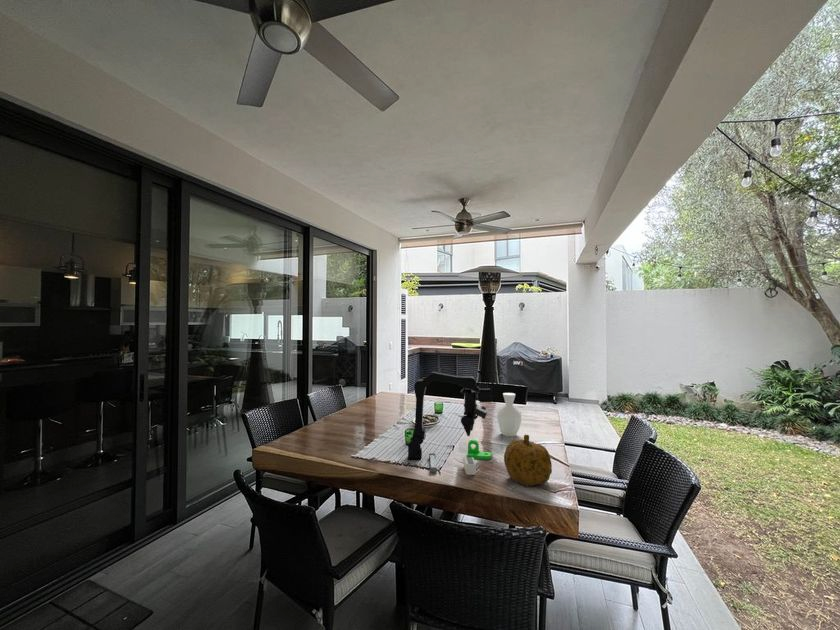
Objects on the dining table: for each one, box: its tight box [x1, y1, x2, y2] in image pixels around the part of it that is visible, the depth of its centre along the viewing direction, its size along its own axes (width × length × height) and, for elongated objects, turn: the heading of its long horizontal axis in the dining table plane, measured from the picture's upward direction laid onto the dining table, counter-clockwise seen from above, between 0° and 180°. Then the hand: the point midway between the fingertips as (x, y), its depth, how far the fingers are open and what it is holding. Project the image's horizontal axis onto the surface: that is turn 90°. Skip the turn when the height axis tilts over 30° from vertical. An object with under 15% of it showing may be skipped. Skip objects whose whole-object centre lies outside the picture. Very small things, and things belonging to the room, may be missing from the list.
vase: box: [496, 392, 522, 437], centre depth 218 cm, size 14×14×25 cm
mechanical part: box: [466, 439, 492, 461], centre depth 181 cm, size 12×6×8 cm, turn 79°
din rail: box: [428, 452, 438, 475], centre depth 169 cm, size 3×18×3 cm, turn 0°
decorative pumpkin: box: [503, 434, 553, 487], centre depth 154 cm, size 20×21×20 cm
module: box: [463, 456, 477, 476], centre depth 164 cm, size 5×8×5 cm, turn 0°
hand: (470, 433), depth 176 cm, fingers open, 9 cm apart
